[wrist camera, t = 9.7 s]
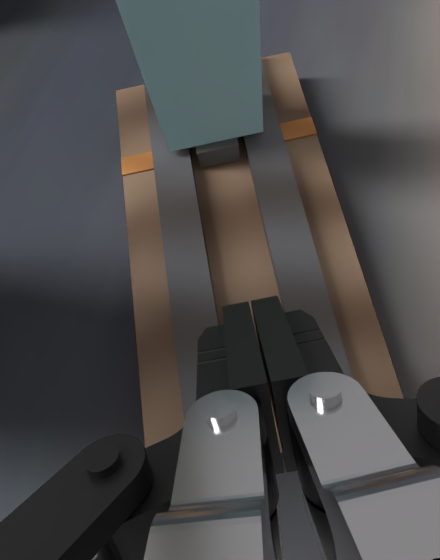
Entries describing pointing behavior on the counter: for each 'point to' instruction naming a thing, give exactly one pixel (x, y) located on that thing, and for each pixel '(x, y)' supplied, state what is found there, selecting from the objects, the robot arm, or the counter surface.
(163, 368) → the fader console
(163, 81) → the fader tab
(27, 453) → the counter surface
